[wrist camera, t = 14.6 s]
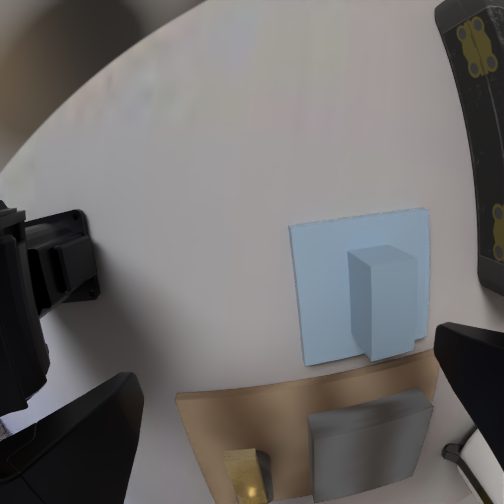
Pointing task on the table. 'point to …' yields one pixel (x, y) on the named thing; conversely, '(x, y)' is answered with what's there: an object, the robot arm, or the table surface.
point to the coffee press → (478, 469)
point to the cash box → (481, 116)
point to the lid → (362, 284)
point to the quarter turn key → (246, 476)
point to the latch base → (286, 418)
